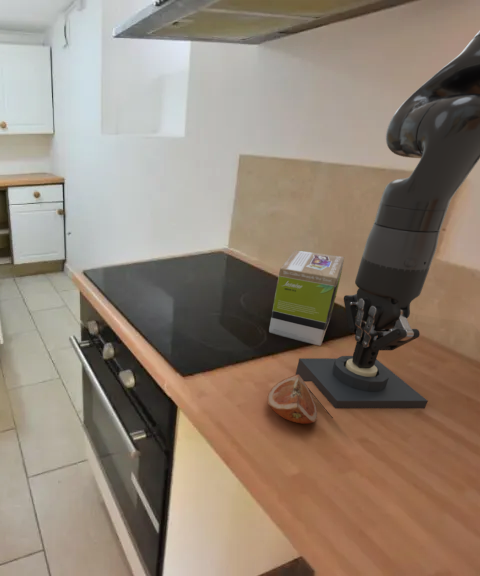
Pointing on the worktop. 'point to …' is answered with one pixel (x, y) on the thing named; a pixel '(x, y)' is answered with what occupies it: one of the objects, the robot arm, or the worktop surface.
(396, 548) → the worktop surface
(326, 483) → the worktop surface
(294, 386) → the fruit slice
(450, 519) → the worktop surface
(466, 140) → the robot arm
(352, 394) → the dark grey button base
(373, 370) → the button
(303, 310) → the tea box
